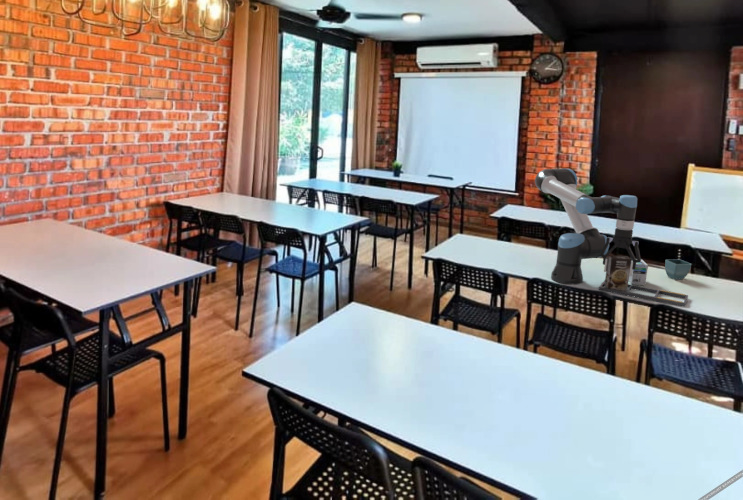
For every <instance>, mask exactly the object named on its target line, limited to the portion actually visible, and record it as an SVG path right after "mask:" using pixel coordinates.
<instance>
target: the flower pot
mask: <svg viewBox="0 0 743 500" xmlns="http://www.w3.org/2000/svg"><path fill="white" fill-rule="evenodd" d="M664 263H665V264H664V266H665V267H664V268H665V270H664V271H665V274H666V276H667V277H668V278H670V279H672V280H683V279H685V278H686V277H687V276H688V275H689V272H690V269H691V267H692V263H690V262H688V261H685V260H682V259H678V258H677V259H665V262H664Z"/></svg>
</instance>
